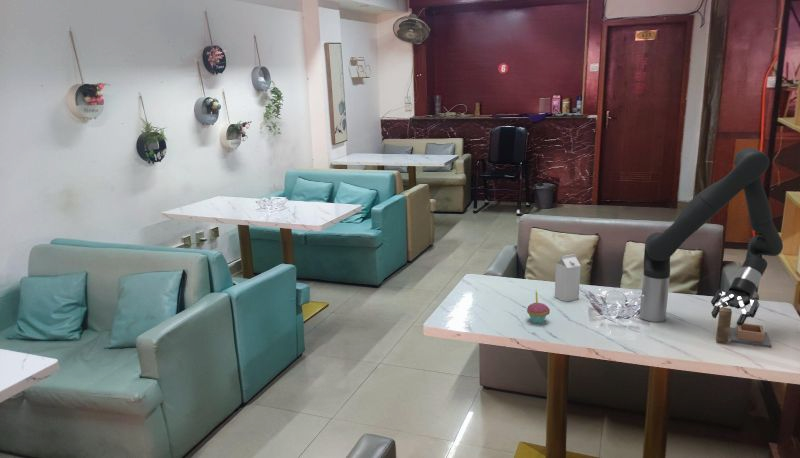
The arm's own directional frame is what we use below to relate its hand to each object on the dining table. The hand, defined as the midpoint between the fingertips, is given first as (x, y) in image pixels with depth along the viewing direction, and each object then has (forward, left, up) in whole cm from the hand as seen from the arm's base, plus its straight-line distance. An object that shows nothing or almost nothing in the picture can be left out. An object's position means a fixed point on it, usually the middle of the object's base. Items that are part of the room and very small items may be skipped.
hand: (725, 320), depth 209 cm
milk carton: (-58, +22, -8) cm, 62 cm away
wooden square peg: (-1, -1, -8) cm, 8 cm away
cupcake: (-64, -7, -8) cm, 64 cm away
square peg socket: (+8, +6, -8) cm, 13 cm away
